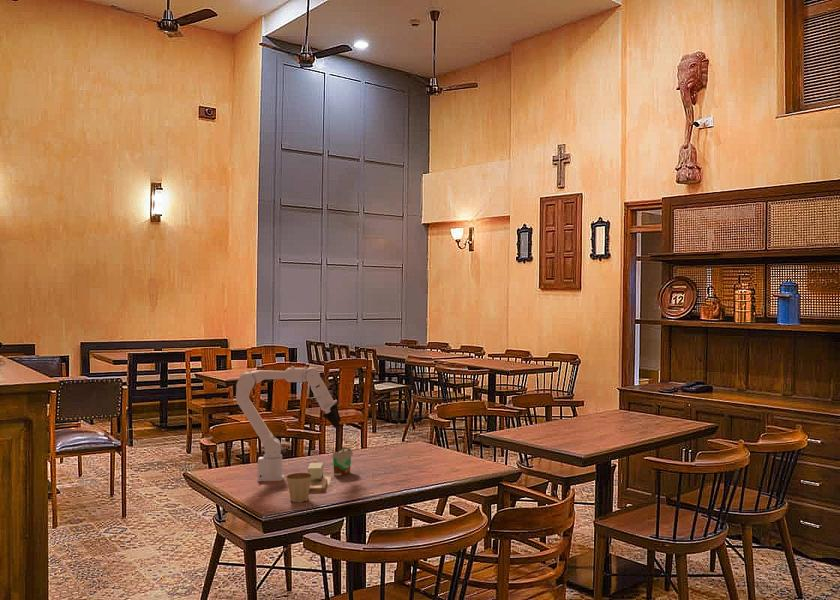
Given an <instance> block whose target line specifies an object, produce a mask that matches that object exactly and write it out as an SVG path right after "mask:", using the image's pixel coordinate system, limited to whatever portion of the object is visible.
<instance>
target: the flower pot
mask: <svg viewBox="0 0 840 600" xmlns="http://www.w3.org/2000/svg"><path fill="white" fill-rule="evenodd" d="M312 476H313V475H312V474H310V473H308V472H294V473H293V472H292V473H289V474H287V475H285V479H286V482H287V484H288V485H287V486H288V491H289V499H290V501H291V502H293V503H304V502H307V501H308V500H309V498H310V497H309V496H310V493H309V488H310V481H311V477H312Z"/></svg>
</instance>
